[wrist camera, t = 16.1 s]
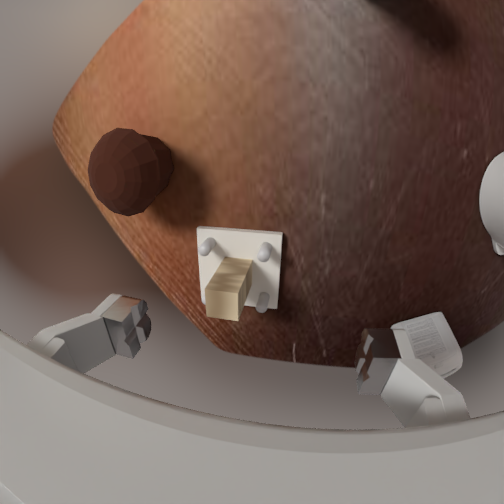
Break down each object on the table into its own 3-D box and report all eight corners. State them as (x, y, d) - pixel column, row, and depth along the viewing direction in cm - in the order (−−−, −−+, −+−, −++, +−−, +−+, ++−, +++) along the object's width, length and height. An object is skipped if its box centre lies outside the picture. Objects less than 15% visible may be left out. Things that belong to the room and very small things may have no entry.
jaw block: (252, 259, 41) (237, 293, 32) (251, 284, 42) (238, 321, 34) (224, 256, 41) (204, 289, 33) (225, 281, 43) (206, 316, 35)
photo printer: (389, 341, 43) (402, 396, 32) (387, 323, 42) (403, 378, 31) (442, 326, 40) (465, 376, 29) (443, 307, 39) (470, 357, 28)
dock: (282, 232, 39) (279, 243, 36) (277, 305, 44) (274, 320, 40) (199, 225, 41) (188, 235, 37) (203, 296, 46) (195, 310, 42)
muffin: (195, 181, 38) (162, 198, 29) (140, 215, 42) (101, 238, 33) (157, 111, 35) (115, 109, 26) (106, 152, 39) (62, 162, 30)
